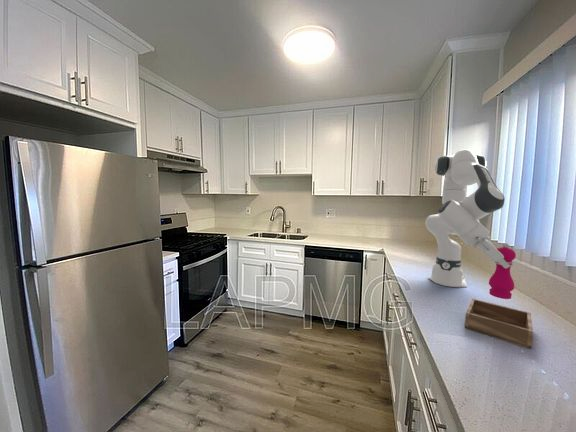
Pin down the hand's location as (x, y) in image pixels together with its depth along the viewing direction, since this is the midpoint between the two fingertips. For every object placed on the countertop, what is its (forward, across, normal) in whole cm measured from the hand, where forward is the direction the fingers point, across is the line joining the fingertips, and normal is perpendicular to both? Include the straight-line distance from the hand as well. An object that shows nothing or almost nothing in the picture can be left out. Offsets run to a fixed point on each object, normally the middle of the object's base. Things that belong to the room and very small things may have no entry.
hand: (505, 265), depth 91 cm
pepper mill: (+8, 0, +9) cm, 12 cm away
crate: (+17, 0, +18) cm, 25 cm away
